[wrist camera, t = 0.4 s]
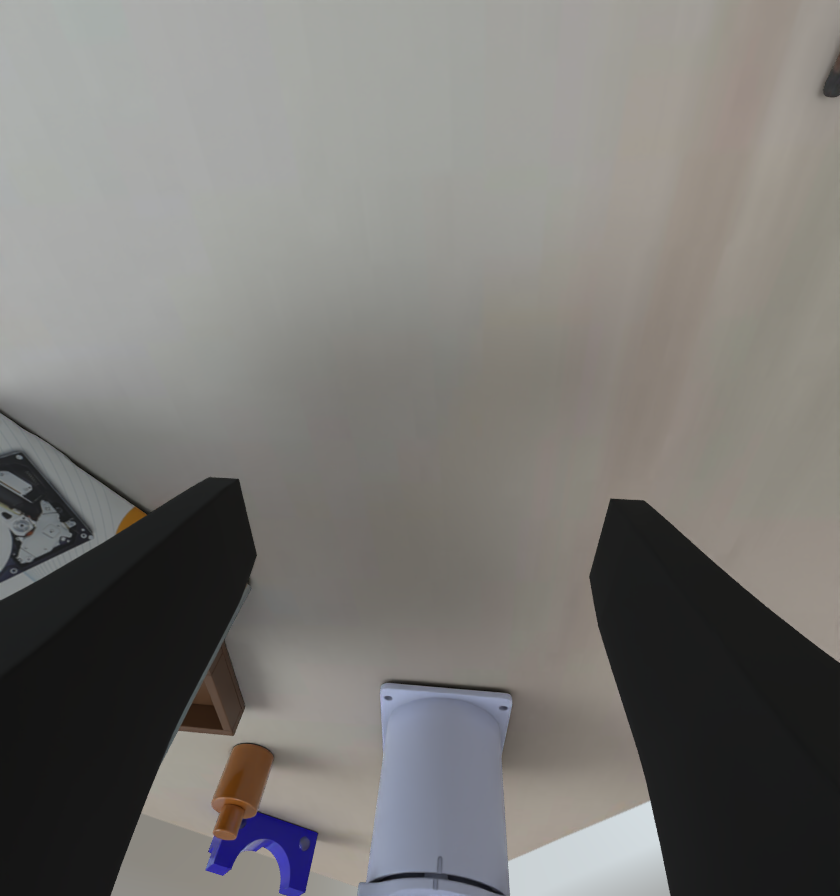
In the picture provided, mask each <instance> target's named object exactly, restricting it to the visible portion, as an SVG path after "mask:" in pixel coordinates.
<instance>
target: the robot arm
mask: <svg viewBox="0 0 840 896" xmlns="http://www.w3.org/2000/svg"><path fill="white" fill-rule="evenodd" d="M256 556H257V554H256V549H255V545H254V541H253V537H252V533H251V528H250V524H249V520H248V516H247V512H246V507H245V503H244V499H243V495H242V491H241V486H240V482H239V479H230V478H212V477H209V478H207V479H205V480H203V481H202V482H200V483H198V484H196V485H194V486H193V487H191V488H189V489H188V490H186V491H184V492H183V493H181V494H180V495H178V496H176V497H175V498H173V499H172V500H170V501H168V502H167V503H165V504H164V505H162V506H161V507H159V508H157V509H156V510H154V511H153V512H151V513H150V514H148V515H146V516H145V517H143V518H142V519H140V520H138V521H137V522H135V523H134V524H132V525H130V526H129V527H127V528H126V529H124V530H122V531H121V532H119V533H118V534H116V535H114V536H113V537H111V538H110V539H108V540H106V541H105V542H103V543H101V544H100V545H98V546H96V547H95V548H93V549H91V550H89V551H88V552H86V553H84V554H83V555H81V556H79V557H77V558H76V559H74V560H72V561H71V562H69V563H67V564H65V565H64V566H62V567H60V568H59V569H57V570H55V571H53V572H52V573H50V574H48V575H47V576H45V577H43V578H41V579H40V580H38V581H36V582H34V583H32V584H30V585H29V586H27V587H25V588H23V589H21V590H19V591H17V592H15V593H14V594H12V595H10V596H8V597H6V598H4V599H2V600H0V896H110V895H111V892H112V890H113V887H114V884H115V881H116V878H117V875H118V873H119V870H120V867H121V864H122V861H123V859H124V856H125V853H126V851H127V848H128V846H129V843H130V840H131V837H132V835H133V833H134V830H135V827H136V825H137V822H138V820H139V817H140V814H141V812H142V809H143V806H144V804H145V801H146V799H147V796H148V793H149V791H150V789H151V786H152V784H153V781H154V779H155V776H156V774H157V771H158V769H159V766H160V764H161V762H162V759H163V757H164V754H165V752H166V749H167V747H168V744H169V742H170V740H171V737H172V735H173V733H174V731H175V729H176V726H177V724H178V722H179V720H180V718H181V716H182V714H183V712H184V710H185V708H186V706H187V704H188V702H189V700H190V698H191V696H192V694H193V692H194V690H195V688H196V686H197V685H198V683H199V681H200V679H201V677H202V675H203V673H204V671H205V669H206V667H207V665H208V663H209V661H210V660H211V658H212V656H213V654H214V652H215V650H216V648H217V646H218V644H219V642H220V640H221V638H222V636H223V635H224V633H225V631H226V629H227V627H228V625H229V623H230V621H231V619H232V617H233V615H234V613H235V611H236V609H237V607H238V605H239V603H240V601H241V598H242V595H243V593H244V590H245V588H246V585H247V582H248V580H249V577H250V574H251V571H252V568H253V565H254V562H255V559H256ZM589 577H590V583H591V589H592V595H593V601H594V606H595V611H596V616H597V622H598V627H599V630H600V633H601V636H602V640H603V643H604V646H605V649H606V653H607V656H608V659H609V662H610V665H611V669H612V672H613V675H614V678H615V681H616V684H617V687H618V690H619V694H620V697H621V700H622V703H623V706H624V709H625V712H626V715H627V719H628V722H629V725H630V728H631V731H632V734H633V737H634V740H635V744H636V747H637V750H638V754H639V757H640V761H641V764H642V768H643V772H644V775H645V779H646V783H647V787H648V792H649V796H650V801H651V805H652V810H653V814H654V819H655V823H656V828H657V832H658V837H659V841H660V846H661V851H662V855H663V861H664V866H665V871H666V875H667V880H668V885H669V890H670V895H671V896H840V663H839V662H838V661H836V660H835V659H833V658H832V657H831V656H829V655H828V654H827V653H825V652H824V651H823V650H821V649H820V648H819V647H817V646H816V645H815V644H813V643H812V642H811V641H809V640H808V639H807V638H805V637H804V636H803V635H802V634H800V633H799V632H798V631H797V630H795V629H794V628H793V627H791V626H790V625H789V624H788V623H786V622H785V621H784V620H783V619H781V618H780V617H779V616H778V615H776V614H775V613H774V612H772V611H771V610H770V609H769V608H767V607H766V606H765V605H764V604H763V603H761V602H760V601H759V600H758V599H756V598H755V597H754V596H753V595H752V594H750V593H749V592H748V591H747V590H746V589H744V588H743V587H742V586H741V585H740V584H739V583H737V582H736V581H735V580H734V579H733V578H731V577H730V576H729V575H728V574H727V573H726V572H725V571H723V570H722V569H721V568H720V567H719V566H718V565H717V564H715V563H714V562H713V561H712V560H711V559H710V558H709V557H707V556H706V555H705V554H704V553H703V552H702V551H701V550H700V549H698V548H697V547H696V546H695V545H694V544H693V543H692V542H691V541H690V540H688V539H687V538H686V537H685V536H684V535H683V534H682V533H681V532H680V531H678V530H677V529H676V528H675V527H674V526H673V525H672V524H671V523H670V522H668V521H667V520H666V519H665V518H664V517H663V516H662V515H661V514H659V513H658V512H657V511H656V510H655V509H654V508H652V507H651V506H650V505H649V504H648V503H646V502H645V501H644V500H625V499H610V502H609V506H608V510H607V513H606V517H605V521H604V524H603V528H602V532H601V535H600V539H599V543H598V546H597V550H596V554H595V557H594V561H593V565H592V569H591V572H590V576H589ZM380 700H381V719H382V738H383V762H382V770H381V777H380V784H379V792H378V799H377V807H376V814H375V821H374V829H373V836H372V843H371V851H370V858H369V865H368V873H367V880H366V882H360V883H359V886H358V893H357V896H510V890H509V873H508V857H507V840H506V824H505V807H504V791H503V774H502V758H501V756H502V751H503V747H504V742H505V737H506V732H507V727H508V723H509V718H510V713H511V708H512V696H511V695H510V694H508V693H501V692H489V691H477V690H466V689H454V688H442V687H431V686H419V685H407V684H396V683H385V684H383V685H381V690H380Z"/></svg>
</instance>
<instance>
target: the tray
mask: <svg viewBox="0 0 840 896" xmlns="http://www.w3.org/2000/svg"><path fill="white" fill-rule="evenodd" d="M244 709H245V705H244V702H243V699H242V696H241V693H240V690H239V686H238V683H237V680H236V677H235V674H234V671H233V668H232V665H231V662H230V659H229V655H228V652H227V649H226V646H225V643H224V641H223V643H222V645H221V647H220V649H219V651H218V653H217V655H216V657H215V659H214V661H213V663H212V665H211V667H210V668H209V670H208V672H207V674H206V676H205V678H204V680H203V682H202V684H201V686H200V688H199V690H198V692H197V694H196V696H195V698H194V700H193V702H192V704H191V706H190V708H189V710H188V712H187V714H186V716H185V718H184V720H183V722H182V724H181V726H180V728H179V730H178V731H187V732H198V733H208V734H219V735H230V736H234V734H235V731H236V729H237V726H238V724H239V721H240V719H241V716H242V714H243V712H244Z"/></svg>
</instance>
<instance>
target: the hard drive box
mask: <svg viewBox="0 0 840 896" xmlns="http://www.w3.org/2000/svg"><path fill="white" fill-rule="evenodd" d="M146 515H147V514H146V513H144V512H143V511H141V510H140V509H138V508H137V507H135V506H134V505H132V504H131V503H130V502H128V501H127V500H125V499H124V498H122V497H120V496H119V495H118V494H117V493H115V492H114V491H112V490H111V489H109V488H108V487H107V486H105V485H104V484H102V483H101V482H99V481H98V480H97V479H95V478H94V477H92V476H91V475H89V474H88V473H86V472H85V471H83V470H82V469H80V468H79V467H78V466H76V465H75V464H74V463H72V461H71V460H70V459H69V458H68V457H67V456H66V455H64V454H63V453H61V452H60V451H58V450H57V449H55V448H54V447H53V446H51V445H50V444H48V443H47V442H45V441H44V440H42V439H41V438H39V437H38V436H36V435H34V434H31V433H29V432H28V431H26V430H24V429H22V428H21V427H20V426H19V425H17V424H16V423H14V422H13V421H12V420H10V419H9V418H7V417H6V416H4V415H3V414H1V413H0V600H2V599H4V598H6V597H8V596H10V595H12V594H14V593H15V592H17V591H19V590H21V589H23V588H25V587H27V586H29V585H30V584H32V583H34V582H36V581H38V580H40V579H41V578H43V577H45V576H47V575H48V574H50V573H52V572H53V571H55V570H57V569H59V568H60V567H62V566H64V565H65V564H67V563H69V562H71V561H72V560H74V559H76V558H77V557H79V556H81V555H83V554H84V553H86V552H88V551H89V550H91V549H93V548H95V547H96V546H98V545H100V544H101V543H103V542H105V541H106V540H108V539H110V538H111V537H113V536H114V535H116V534H118V533H119V532H121V531H122V530H124V529H126V528H127V527H129V526H130V525H132V524H134V523H135V522H137V521H138V520H140V519H142V518H143V517H145V516H146ZM250 590H251V587H250V585H248V584H247V585H246V588H245V590H244V593H243V595H242V598H241V601H240V603H239V605H238V607H237V609H236V611H235V613H234V615H233V617H232V619H231V621H230V623H229V625H228V627H227V629H226V631H225V633H224V635H223V636H222V638H221V640H220V642H219V644H218V646H217V648H216V650H215V652H214V654H213V656H212V658H211V660H210V661H209V663H208V665H207V667H206V669H205V671H204V673H203V675H202V677H201V679H200V681H199V683H198V685H197V686H196V688H195V690H194V692H193V694H192V696H191V698H190V700H189V702H188V704H187V706H186V708H185V710H184V712H183V714H182V716H181V718H180V720H179V722H178V724H177V726H176V729H175V731H174V733H173V735H172V737H171V740H170V742H169V744H168V747H167V749H166V752H165V754H164V757H165V755H166V753H167V751H168V749H169V747H170V746H171V744H172V742H173V740H174V738H175V736H176V734H177V732H178V730H179V728H180V726H181V724H182V722H183V720H184V718H185V716H186V714H187V712H188V710H189V708H190V706H191V704H192V702H193V700H194V698H195V696H196V694H197V692H198V690H199V688H200V686H201V684H202V682H203V680H204V678H205V676H206V674H207V672H208V670H209V668H210V667H211V665H212V663H213V661H214V659H215V657H216V655H217V653H218V651H219V649H220V647H221V645H222V643H223V641H224V639H225V637H226V635H227V633H228V632H229V630H230V628H231V626H232V624H233V622H234V620H235V618H236V616H237V614H238V612H239V610H240V608H241V607H242V605H243V603H244V601H245V599H246V598H247V596H248V594H249V592H250ZM164 757H163V759H164ZM163 759H162V761H163ZM161 763H162V762H161ZM160 765H161V764H160ZM159 767H160V766H159Z"/></svg>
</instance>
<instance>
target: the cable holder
mask: <svg viewBox="0 0 840 896" xmlns="http://www.w3.org/2000/svg"><path fill="white" fill-rule="evenodd" d="M317 836H318V833H316V832H314V831H311V830H308V829H305V828H302V827H299V826H296V825H294V824H291V823H288V822H285V821H282V820H279V819H276V818H274V817H271V816H268V815H265V814H262V813H259V812H257V814H256V815H255V816H254V817H252V818H248V819H243V820H242V823H241V826H240V829H239V832H238V835H237V838H236V839H234V840H223V839H220V838H217V837H216V836H214V837H213V840H212V843H211V845H210V848H209V851H208V852H210V853H211V856H210V859H209V862H208V864H207V867H206V871H210V872H213V873H216V874H219V875H222V876H223V875H224V874H226V873H227V872H228V871H229V870H231V868H232V866H233V863H234V861H235V859H236V858H237V856H238V855H239V853H240V852H243V851H257V850H259V849H260V848H261V847H264V848H266V849H268V850H269V851H270V852H271V853H272V854H273V855H274V856H275V858H276V860H277V862H278V865H279V868H280V875H281V884H280V890H279V893H280V894H283V895H287V896H300V895H301V894H303V893H305V891H306V886H307V881H308V877H309V872H310V868H311V863H312V858H313V854H314V849H315V845H316V840H317ZM299 845H300V846H299ZM300 848H301V849H300Z"/></svg>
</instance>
